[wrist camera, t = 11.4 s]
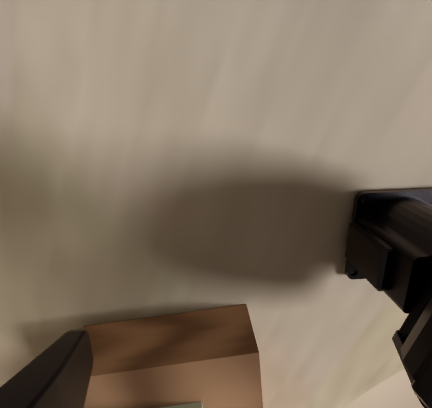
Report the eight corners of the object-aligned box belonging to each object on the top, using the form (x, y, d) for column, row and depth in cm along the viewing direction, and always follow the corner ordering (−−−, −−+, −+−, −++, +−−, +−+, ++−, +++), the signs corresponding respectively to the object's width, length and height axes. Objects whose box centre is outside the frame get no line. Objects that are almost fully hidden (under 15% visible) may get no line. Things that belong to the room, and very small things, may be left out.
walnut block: (245, 300, 24) (258, 352, 19) (255, 413, 28) (268, 478, 23) (85, 322, 23) (58, 381, 18) (119, 433, 27) (104, 504, 23)
